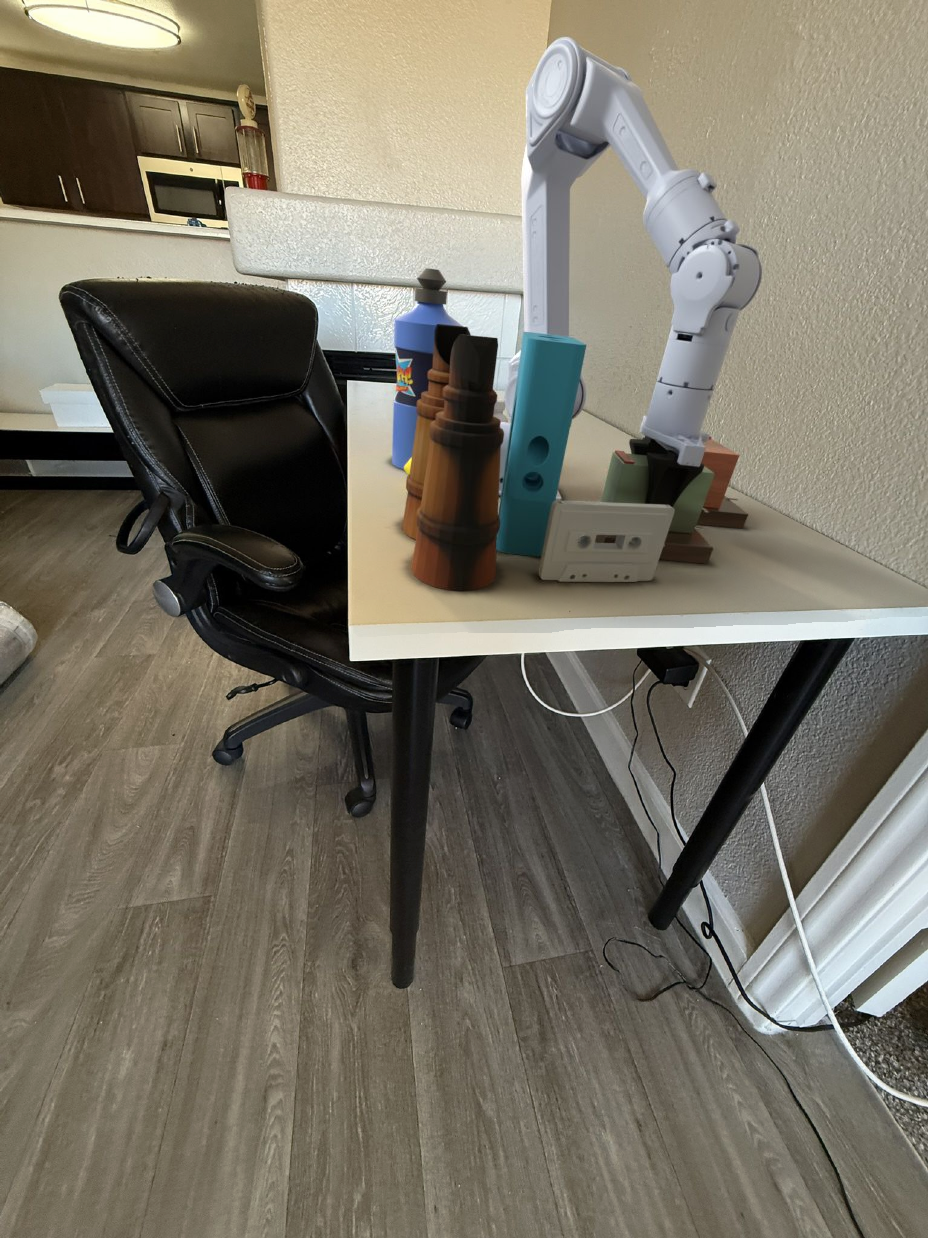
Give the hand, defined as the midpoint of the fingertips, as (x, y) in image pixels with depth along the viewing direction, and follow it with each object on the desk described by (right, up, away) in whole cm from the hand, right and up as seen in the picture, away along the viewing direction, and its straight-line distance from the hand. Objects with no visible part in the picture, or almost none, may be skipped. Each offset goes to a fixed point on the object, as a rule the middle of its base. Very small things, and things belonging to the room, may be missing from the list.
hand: (646, 511), depth 61 cm
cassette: (-8, -9, -9) cm, 15 cm away
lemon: (-26, +5, +9) cm, 28 cm away
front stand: (0, -3, +2) cm, 3 cm away
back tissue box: (+10, +5, +12) cm, 17 cm away
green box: (0, -1, +1) cm, 1 cm away
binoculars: (-23, -5, -6) cm, 25 cm away
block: (-15, -4, -2) cm, 16 cm away
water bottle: (-28, +11, +19) cm, 36 cm away
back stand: (+10, +3, +13) cm, 17 cm away
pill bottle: (-18, +12, +23) cm, 32 cm away
